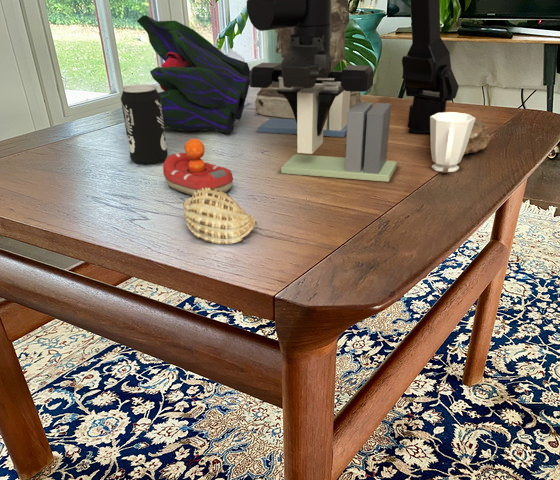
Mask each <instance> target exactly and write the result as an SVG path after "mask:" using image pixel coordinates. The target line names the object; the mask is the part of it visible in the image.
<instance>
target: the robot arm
mask: <svg viewBox="0 0 560 480" xmlns="http://www.w3.org/2000/svg"><path fill="white" fill-rule="evenodd" d="M440 4H441V0H410V3H409V5H410V22H411V23H410V25H411V40H412V41H411V45H410V47H409V49H408V52H407V53H406V55H403V57H402V59H401V64H402V65H401V66H402V77H401V79H402V80H404V86H405V87H404V88H405V96H406V97H413V98H412V99H413V100H412V103H410V105H409V108H408V118H407V119H408V120H407V128H408V133H411V134H425V135H426V134H427V135H430V116H432V115H434V114H437V113H445V112H447V111H446V110H447V105H448V104H447V103H448V102H452V101H454V99H456V97H457V94H458V91H459V88H460V87H459V86H460V85H459V84H458V81H457V79H456V77H455V74H454V71H453V69H452V63H451V62H452V61H451V55H450V54H451V53H450V51H449V49H448V48H447V46H446V44H445V42H444V41H443V39H442V36H441V5H440ZM246 13H247V16H248V19H249V21H250V23H251V24H252V26H253V27H254V28H255V29H256V30H258V31H260V32H264V31H272V30H275V29H281V28H289V27H293V34H291V39H290V47H289V51H288V52H287V53H286V55H285V57H284V59H282V61H281V62H260V63H259V64H256V65H254V66H253V67H251V69H250V74H249V80H250V85H249V88H259V89H262V88H268V87H269V86H270V85H271V84H272V83H273V82H279V89H278V90H277V92H278V94H282V95H284V97H285V98H286V99H287V100H288V102H289V104H290V106H291V108H292V111H293V114H294V117H295V120H296V123H297V93H298V92H299V91H301V90H302V89H304V88H306V89H307V88H312V87H314V86H315V84H316V83H320V84H322V86H323V90H321V91H320V92H319V93H318V95H319V110H318V120H317V136H320V135H321V133H322V130H323V127H324V124H325V121H326V119H327V116H328V113H329V110H330V108H331V105H332V103H333V101H334V99H335V97H336V96H338V95H339V94H341V93H342V92H343V91H344V90H345V91H355V92H361V93H363V92H368V91H369V90H370V88H372V86H374V74H375V73H374V69H373V68H372V66H371V65H362V64H361V65H359V64H349V65H347V66H345V67H344V68H343V69H342V70H332V71H331V57H330V39H331V38H332V31H331V0H246Z"/></svg>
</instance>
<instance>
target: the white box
mask: <svg viewBox="0 0 560 480" xmlns="http://www.w3.org/2000/svg"><path fill="white" fill-rule="evenodd" d="M321 90H323V86H322V85H315V86H314V87H312V88H307V89H306V88H304V89H302V90H301V91H299V92H298V93H297V134H296V137H297V138H296V140H297V141H296V145H297V146H296V147H297V148H296V154H304V155H313V154H314V153H315V152H316V151H317V150H318V148H319V147H321V145H322V144H323V143H324V136H323V130H322V133H321V135H320V136H317V120H318V110H319V95H318V93H319V92H320V91H321Z"/></svg>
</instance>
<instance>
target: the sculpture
mask: <svg viewBox="0 0 560 480" xmlns="http://www.w3.org/2000/svg"><path fill="white" fill-rule="evenodd" d="M349 23H350V7H349V1H348V0H331V31H332V38H331V39H330V57H331V71H334V70H333V69H334V68H335V67H336V66H337V65H338V64H339V63H340V62H342V61H346V56H345V47H346V31H347V27H348V25H349ZM274 31H275V35H276V48H275V53H276V54H280V57H281V60H283V59H284V57H285V55H286V53H287V52H288V51H289V47H290V39H291V34H293V27H289V28H281V29H274ZM278 89H279V82H273V83H272V84H271V85H270V86H269V87H268V88H260V90H259V91H258V92H257V93H256V97H255V100H254V103H255V112H256V113H257V114H259V115H262V116H267V117H273V118H280V119H295V117H294V114H293V111H292V108H291V106H290V104H289V102H288V100H287V99H286V98H285V97H284V95H282V94H278V92H277V90H278ZM361 93H362V92H355V91H350V106H349V110H350V109H351V108H352V107H353V106H354V105H355V104H356V103H357V102H362V101H361Z"/></svg>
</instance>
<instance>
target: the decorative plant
mask: <svg viewBox="0 0 560 480" xmlns="http://www.w3.org/2000/svg"><path fill="white" fill-rule="evenodd" d="M136 22H137V23H138V25H140V26H141V28H142V29H143V30H144V31H145V32H146V34H147V37H148V42H149V44H150V46H151V47H152V49H153V50H154V52H155V53H156V54H157V55H158V56H159V57H160V58H161V59H162V60H163V61H164V62H163V63H162V64H161V65H160V66H157V67H154V68H152V70H150V71H149V73H150V76H151V78H152V79H153V80H154V81H155V82H156V83H157V84H159V87H160V89H161V90H162V91H159V92H158V93H159V95H160V98H161V106H162V113H163V121H164V129H165V128H168V129H172V130H178V131H185V132H198V131H199V132H200V131H219V132H221V133H224V134H226V135H227V134H228V135H231V133H232V132H233V131H234V128H235V121H240V120H241V119H242V116H243V112H244V108H245V105H244V104H245V100H247V96H248V92H249V89H250V80H249V74H250V70H251V69H250V66H249V64H248V62H246V61H245V62H243V61H240V60H237V59H234V58H231V57H228V56H226V55H225V54H224V52H222V51H221V50H220V49H218V48H217V47H216V46H215V45H214V44H213V43H211V42H210V41H209V40H208V39H207V38H205V37H203V36H202V35H201V34H200V33H199V32H197V31H196V30H195V29H193V28H191V27H189V26H187V25H185V24H183V23H181V22H179V21H177V20H155V19H154V18H152V17H151V16H148V15H146V14H143V15H142V16H141V17H140V18H138V19H137V20H136Z"/></svg>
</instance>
